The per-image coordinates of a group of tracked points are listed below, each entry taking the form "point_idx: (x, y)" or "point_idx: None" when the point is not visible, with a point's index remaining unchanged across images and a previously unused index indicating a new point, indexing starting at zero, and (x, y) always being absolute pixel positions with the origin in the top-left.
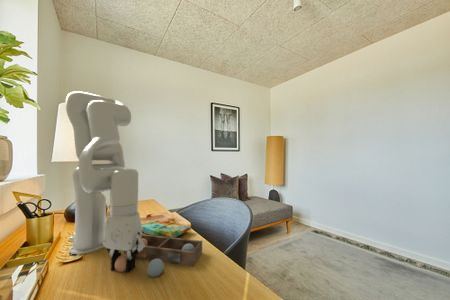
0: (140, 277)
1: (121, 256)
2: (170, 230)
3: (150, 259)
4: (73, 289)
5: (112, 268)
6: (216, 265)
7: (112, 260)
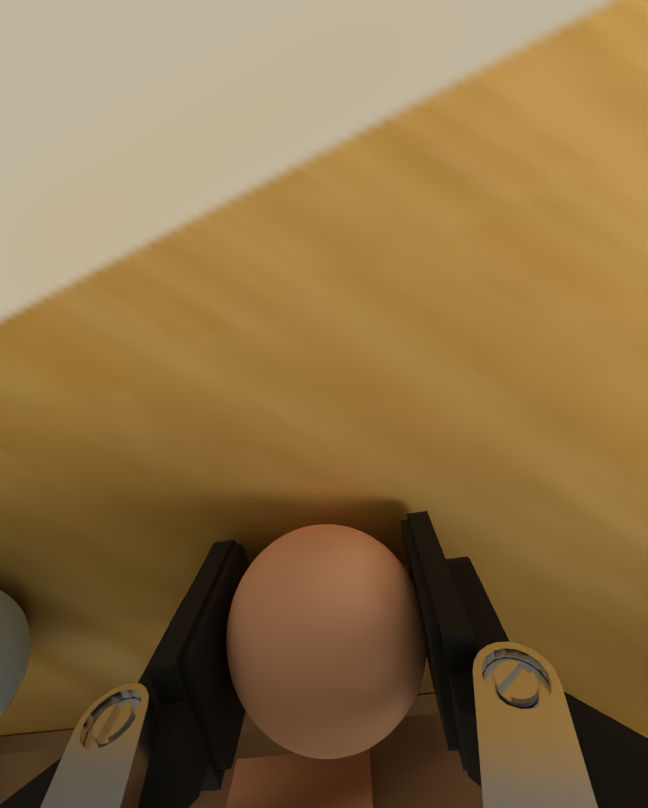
0: (87, 548)
1: (326, 703)
2: None
3: None
4: (561, 144)
5: (411, 527)
6: None
7: (433, 600)
